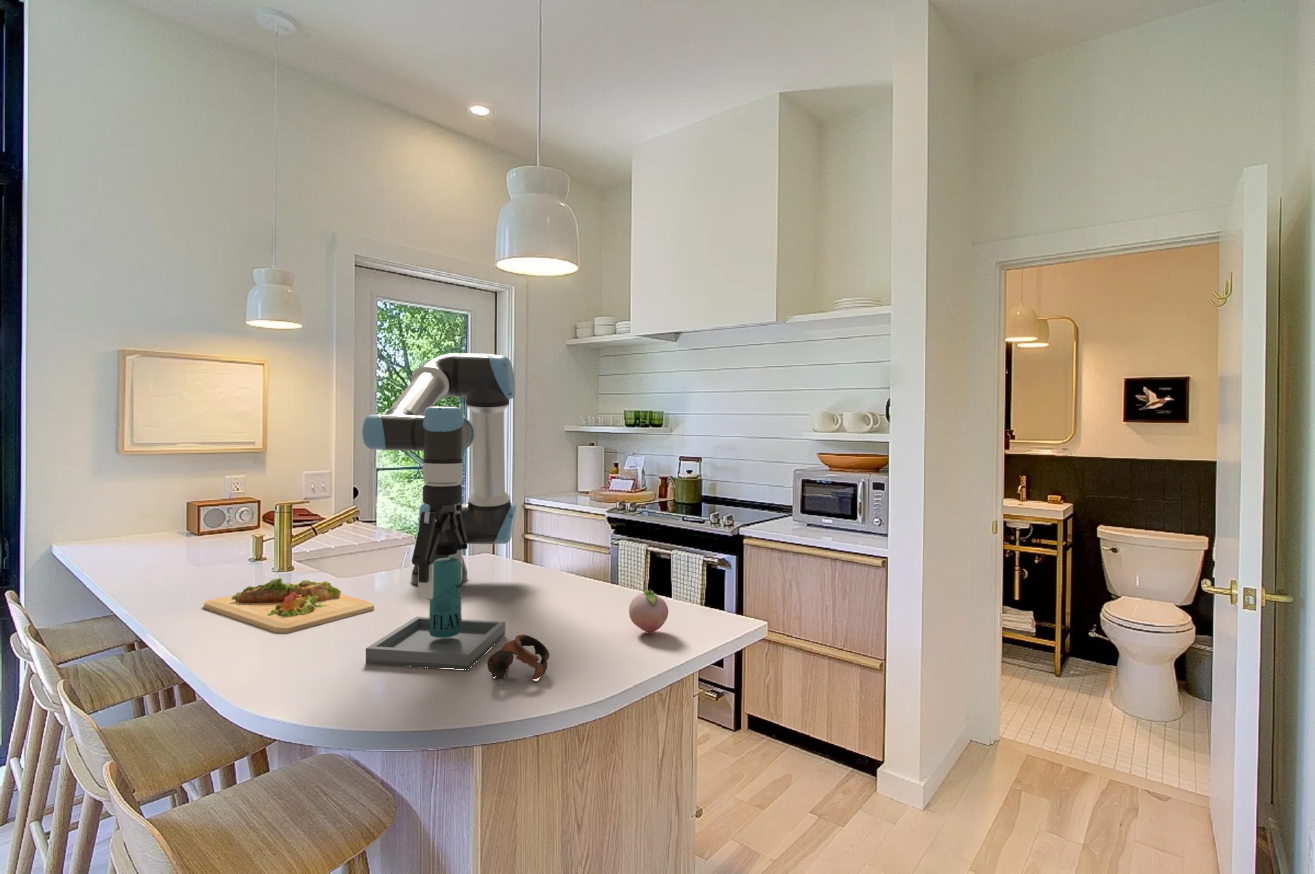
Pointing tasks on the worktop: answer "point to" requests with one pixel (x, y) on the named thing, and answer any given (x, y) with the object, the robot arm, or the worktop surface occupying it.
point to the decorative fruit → (648, 611)
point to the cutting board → (289, 605)
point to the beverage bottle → (446, 594)
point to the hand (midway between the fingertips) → (441, 589)
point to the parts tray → (435, 645)
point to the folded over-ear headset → (518, 656)
